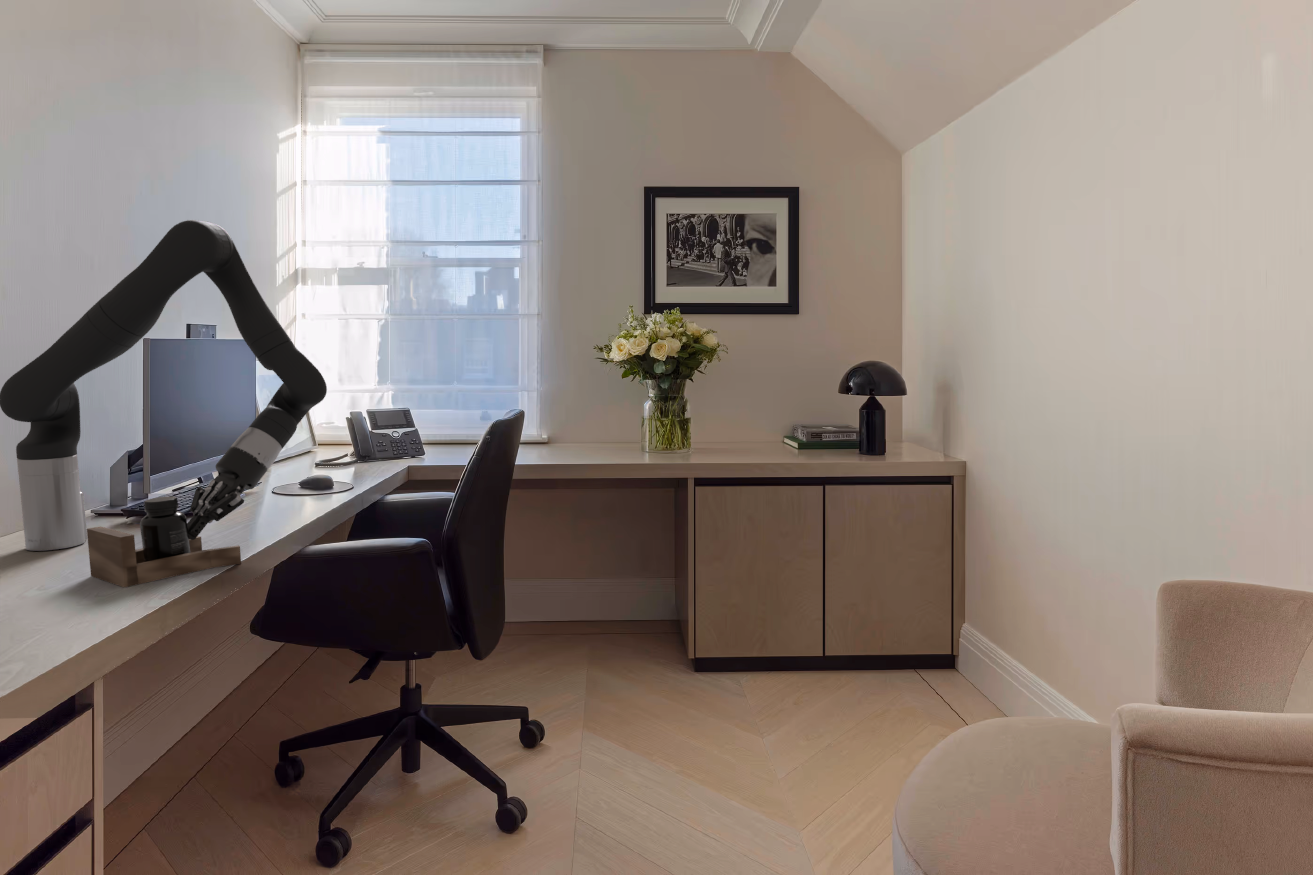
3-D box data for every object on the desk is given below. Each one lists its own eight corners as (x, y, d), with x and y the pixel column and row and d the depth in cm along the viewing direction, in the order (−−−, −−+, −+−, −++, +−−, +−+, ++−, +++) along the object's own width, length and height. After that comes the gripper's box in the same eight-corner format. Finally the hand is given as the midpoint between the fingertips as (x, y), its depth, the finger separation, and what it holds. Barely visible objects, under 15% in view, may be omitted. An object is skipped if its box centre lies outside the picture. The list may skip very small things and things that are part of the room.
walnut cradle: (199, 551, 151) (196, 509, 150) (243, 562, 143) (240, 517, 142) (86, 574, 136) (82, 527, 135) (129, 588, 128) (124, 538, 127)
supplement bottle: (188, 559, 144) (181, 493, 143) (194, 568, 139) (187, 499, 137) (142, 567, 140) (135, 498, 139) (147, 576, 135) (139, 505, 133)
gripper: (215, 443, 152) (150, 520, 143) (254, 447, 144) (189, 529, 136) (245, 467, 157) (184, 544, 148) (285, 472, 149) (223, 553, 141)
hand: (186, 536), depth 142 cm, fingers closed
